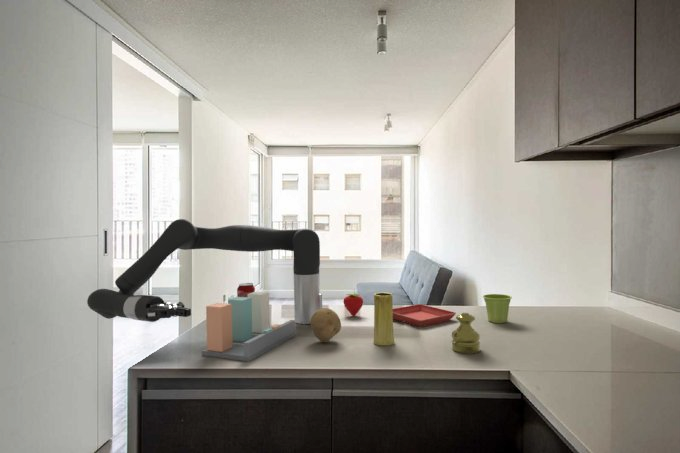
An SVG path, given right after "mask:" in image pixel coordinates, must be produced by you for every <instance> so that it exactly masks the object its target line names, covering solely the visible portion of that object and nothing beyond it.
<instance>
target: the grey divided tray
mask: <svg viewBox="0 0 680 453" xmlns="http://www.w3.org/2000/svg"><path fill="white" fill-rule="evenodd" d="M295 336H296V323H295V319H290V320H288V321H285V322H283V323H281V324H275V325H273V326H271V328H268V329H266V330H264V332H263V333H255V332H252V338H250V339H248V340H246V341H244V342H241V341H233V347H232V348H229V349H227V350H225V351H223V352H218V351H211V350H207V348H206V349H203V350H202V356H206V357H212V358H221V359H228V360H233V361H234V360H235V361H242V362H250V361H252V360H254V359H256V358H258V357H259V356H262V355H263V354H265V353H267V352H268V351H270V350H272V349H274V348H276V347H277V346H279V345H280V344H283V343H284V341H285V342H286V341H288V340H289V339H291V338H294V337H295Z"/></svg>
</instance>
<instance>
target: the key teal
mask: <svg viewBox="0 0 680 453" xmlns="http://www.w3.org/2000/svg"><path fill="white" fill-rule="evenodd" d="M227 301H228V303H227V304H232V341H241V342H244V341H246V340H248V339H250V338H252V298H249V297H237V296H236V297H232V298H229V299H228V300H227Z"/></svg>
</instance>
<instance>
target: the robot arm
mask: <svg viewBox="0 0 680 453" xmlns="http://www.w3.org/2000/svg"><path fill="white" fill-rule="evenodd" d="M319 237H320V236H319V235H318V234H317V232H315V230H312V229H310V228H298V229H277V228H271V227H266V226H258V225H248V224H234V225H228V226H227V225H226V226H221V227H216V228H215V227H213V228H211V227H210V228H209V227H201V226H195V225H194V224H193V223H192V221H190V220H189V219H188V220H187V219H184V218H179V219H176V220H174V221H172V222H171V223H170V224H169V225H168V226H167V228H166V229H165V230H164V231H163V232H162V233H161V235H160V236H159V237H158V238H157V240H156V241H155V242H154V243H153V244H152V245H151V246H150V247H149V249H147V250H146V252H144V253H143V254H142V256H140V257H139V258H138V259H137V260H136V261H135V262H134V263H133V264H132V265H131V266H129V267H128V268H127V269H126V270H124V272H122V273H121V275H119V276H118V277H117V278H116V279H115V281H114V282H115V286H116V287H117V289H118V291H116V290H112V289H108V288H99V289H96V290H94V291H92V292H91V293H90V294H89V295H88V297H87V301H86V303H87V306H88V307H89V309H90V310H92V311H93V312H95V313H97V314H98V315H100V316H101V317H103V318H104V319H109V320H111V319H113V318H116V317H119V318H124V319H131V320H134V321H135V320H136V321H141V322H150V323H154V322H157V321H159V320H160V319H170V318H172V317H174V318H177V317H183V318H188V317H190V316H192V310H191V307H185V304H184V303H183V302H182V301H179V302H177V303H171V302H170V301H169V302H168V301H164V300H163V298H162V297H160V296H158V295H148V294H147V295H146V294H135V293H137V291H138V290H140V289H141V288H142V286H143V285H145V284H146V283H147V282H148V281H149V280H150V279H151V277H153V276H154V274H155V273H156V272H157V270H158V269H159V268H160V266H161V264H162V263H164V261H165V260H167V258H169V256H171V255H172V253H174V252H175V251H176V250H178V249H179V250H182V251H183V250H184V251H185V250H187V251H188V250H202V249H203V250H204V249H205V250H207V249H214V250H221V251H234V252H248V253H249V252H250V253H251V252H252V253H253V252H269V251H278V250H279V251H289V252H293V254H292V255H293V267H292V268H293V270H292V271H293V304H294V305H293V307H294V311H293V312H294V316H293V317H294V320H295V324H300V325H311V324H310V322H311V317H312V316H313V314H314V313H315V312H316V311H318V310H320V309H322V308H323V294H321V292H320V291H321V289H320V287H321V286H320V284H321V283H320V266H321V260H320V259H321V255H320V254H321V250H320V249H321V247H320V246H321V242H320V238H319Z"/></svg>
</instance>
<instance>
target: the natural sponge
mask: <svg viewBox="0 0 680 453" xmlns="http://www.w3.org/2000/svg"><path fill="white" fill-rule="evenodd" d="M309 325H310V327H311V330H312V332H313V335H314V336H315V337H316V339H317V340H318V341H320V343H321V342H322V343H327V342H329V341H330V340H332V339H333V337H334V336H336V335H337V334H338V333H340V331H341V328H342V322H341V319H340V317H339V315H338V313H336V311H334V310H332V309H331V308H328V307H327V308H326V307H322V309H320V310H318V311H316V312H315V313H314V314H313V316H312V317H311V322H310V324H309Z"/></svg>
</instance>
